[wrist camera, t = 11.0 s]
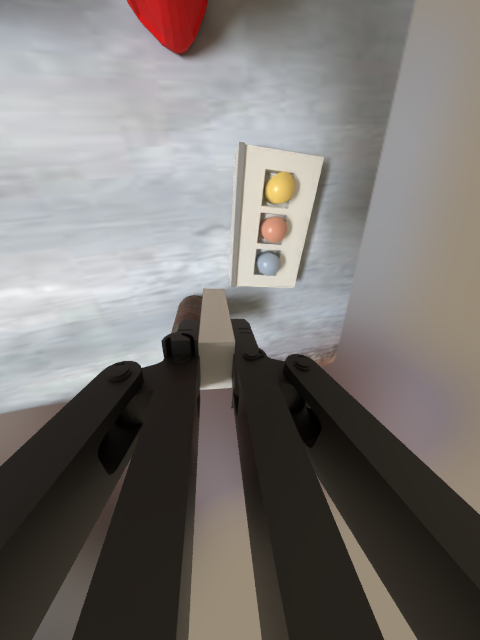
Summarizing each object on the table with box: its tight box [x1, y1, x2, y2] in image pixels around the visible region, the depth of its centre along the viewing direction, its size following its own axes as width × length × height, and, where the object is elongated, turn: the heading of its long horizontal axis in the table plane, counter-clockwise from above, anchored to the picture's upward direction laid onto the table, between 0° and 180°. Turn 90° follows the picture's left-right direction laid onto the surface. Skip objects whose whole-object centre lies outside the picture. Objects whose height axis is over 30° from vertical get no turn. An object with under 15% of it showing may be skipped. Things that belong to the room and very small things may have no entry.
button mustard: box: [264, 171, 295, 205], centre depth 30 cm, size 4×4×4 cm
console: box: [229, 142, 324, 288], centre depth 35 cm, size 22×14×6 cm, turn 176°
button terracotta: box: [259, 217, 287, 243], centre depth 33 cm, size 4×4×4 cm
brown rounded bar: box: [172, 296, 202, 333], centre depth 35 cm, size 8×7×20 cm
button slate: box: [256, 251, 281, 276], centre depth 36 cm, size 4×4×4 cm
